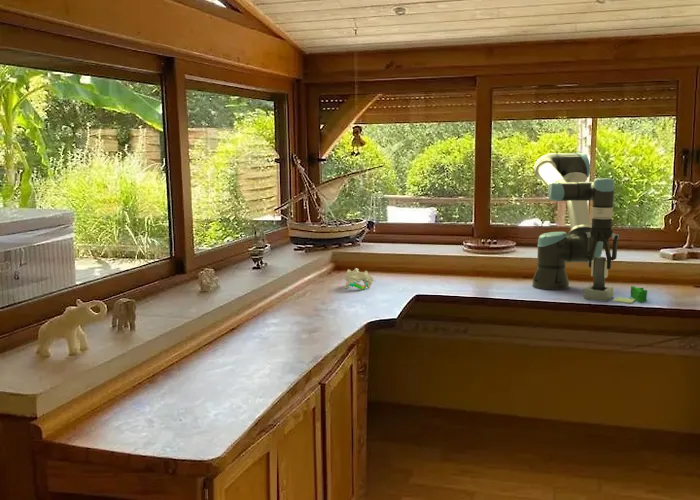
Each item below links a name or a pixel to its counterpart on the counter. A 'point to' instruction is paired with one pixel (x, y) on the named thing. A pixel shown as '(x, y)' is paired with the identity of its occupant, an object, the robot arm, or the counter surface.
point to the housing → (598, 293)
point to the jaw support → (358, 279)
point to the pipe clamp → (638, 294)
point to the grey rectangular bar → (599, 273)
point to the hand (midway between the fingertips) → (599, 276)
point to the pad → (624, 300)
